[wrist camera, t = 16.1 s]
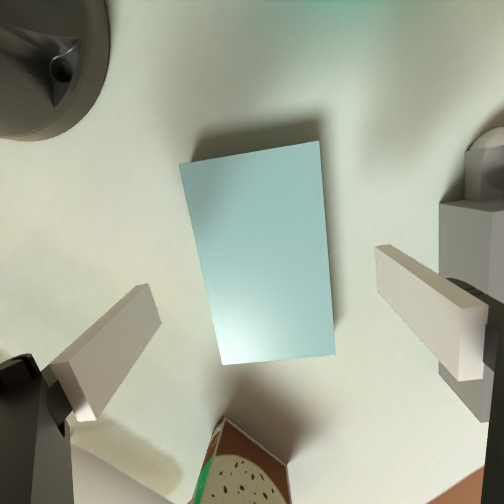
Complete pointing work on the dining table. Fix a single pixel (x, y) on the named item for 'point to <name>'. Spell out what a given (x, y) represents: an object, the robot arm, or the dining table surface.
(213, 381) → the dining table surface
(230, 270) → the cover
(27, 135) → the robot arm
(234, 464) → the food container
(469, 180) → the case
